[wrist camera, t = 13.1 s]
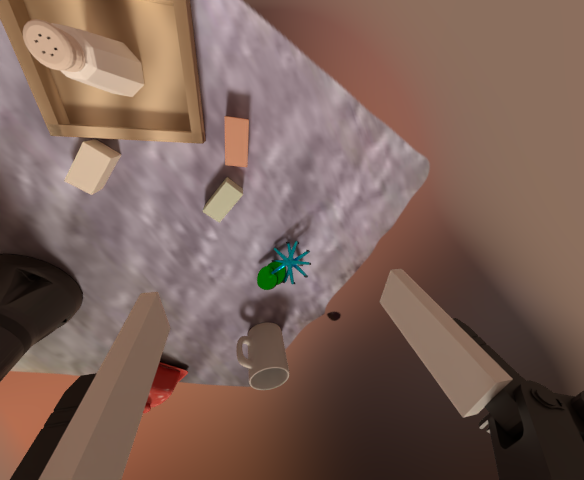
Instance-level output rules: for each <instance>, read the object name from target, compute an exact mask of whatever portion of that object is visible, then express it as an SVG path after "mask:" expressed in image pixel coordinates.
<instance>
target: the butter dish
mask: <svg viewBox="0 0 584 480" xmlns="http://www.w3.org/2000/svg"><path fill="white" fill-rule="evenodd" d="M187 373H188V371H187V370H184V369H181V368H177V367H174V366H171V365H167V364H165V363H161V362H159V365H158V368H157V371H156V374H155V377H154V380H153V383H152V386H151V389H150V393H149V396H148V399H147V402H146V405H145V408H144V411H143V413H147V412H149V411H150V409H151V407H155V406H158V405H159V404H161V403H163V402H164V401H165V400H166V399H168V398H169V396H170V395H171V394H172V392H173V390H174V388H175V386H176V384H177V382H179V381H180V380H181V379H182V378H184V377H185V376H186V375H187Z"/></svg>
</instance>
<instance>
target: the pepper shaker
mask: <svg viewBox="0 0 584 480" xmlns="http://www.w3.org/2000/svg"><path fill="white" fill-rule="evenodd" d="M23 39H24V42H25V45H26V46H27V48H28V50H29V52H30V53H31V54H32V55H33V56H34V58H36V59H37V60H38V61H39V62H40V63H42V64H43V65H45V66H46V67H49V68H51V69H54V70H60V71H61V72H62V73H63V74H64V75H65V76H66V77H68V78H71V79H73V80H76V81H79V82H81V83H84V84H87V85H90V86H93V87H95V88H98V89H101V90H104V91H107V92H109V93H112V94H118V95H124V96H129V97H133V96H134V95H135V94H136V93H137V92H138V91H139V90H140V89H141V88H142V87H143V86H144V78H143V71H142V64H141V62H140V61H139V60H138V59H137V57H136V56H135V55H134V54H133V53H132V52H131V51H130V50H129V48H128V47H127V46H126V45H125V44H124V43H122V42H119V41H116V40H113V39H110V38H106V37H103V36H100V35H97V34H94V33H90V32H87V31H84V30H81V29H76V28H73V27H69V26H65V25H60V24H55V23H51V24H50V23H48V22H46V21H43V20H39V19H34V20H30V21H28V22H27V23H26V24H25V25H24V28H23Z"/></svg>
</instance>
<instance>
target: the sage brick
mask: <svg viewBox="0 0 584 480" xmlns="http://www.w3.org/2000/svg"><path fill="white" fill-rule="evenodd" d="M242 195H243V189H242V188H241V187H240V186H238V185H237V184H236V183H234V182H233V181H232V180H231V179H229V178H228V177H227V178H226V179H225V180H224V181H223V183H222V184H221V185H220V186H219V188H218V189H217V190H216V192H215V193H214V194H213V195H212V197H211V198H210V199H209V200H208V202H207V203H206V204H205V206H204V209H203V211H202V212H204V213H205V214H207V215H208V216H210V217H211V218H213V219H214V220H216V221H218V222H219V223H220V221H221V220H222V219H223V218H224V217H225V215H226V214H227V213H228V212H229V211H230V210H231V208H232V207H233V206H234V205H235V204H236V202H237V201H238V200H239V199H240V198H241V196H242Z"/></svg>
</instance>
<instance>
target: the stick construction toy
mask: <svg viewBox="0 0 584 480" xmlns="http://www.w3.org/2000/svg"><path fill="white" fill-rule="evenodd" d="M286 243H287V246H288V252H289V257H288V258H287V257H286V256H285V255H283V254H282V253H281V252H280V251H279V250H278V249H277V248H274V250H275V251H276V252H277V253H278V254H279V255H280V256H281V258H282V259H283V260H272V262H271V263H270V264H269V265H268V266H266V267H263V268H262V269H261V270H260V271H259V273H258V277H257V283H258V286H259V287H260V288H262V289H264V290H270V289H273V288H274V287H275V286H276V285H279V284H281V283H286V281H287V278H288V276H289V275H290V279H291V284H295V282H294V279H293V272H292V267H295V268H296V269H297V270H298V271H299V272H300V273H301V274H303V275H304V277H306V278H307V277H308V276H307V275H306V273H305V272H304V271H303V270H302V269H301V268H300V267H299V266H303V265H311V263H309V262H302V261H299V260H300V259H301V258H303V257H304V256H305V255H307V254H308V253H309V252H310V251H309V250H306V252H304V253H303V254H301V255H300V256H298V257H296V258H295V259H293V255H294V252H295V249H296V246H297V244H299V242H298V241H295V244H294V246H293V248H292V250H291V247H290V243H289V242H286ZM286 266H287V267H288V270H287V272H286Z"/></svg>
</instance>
